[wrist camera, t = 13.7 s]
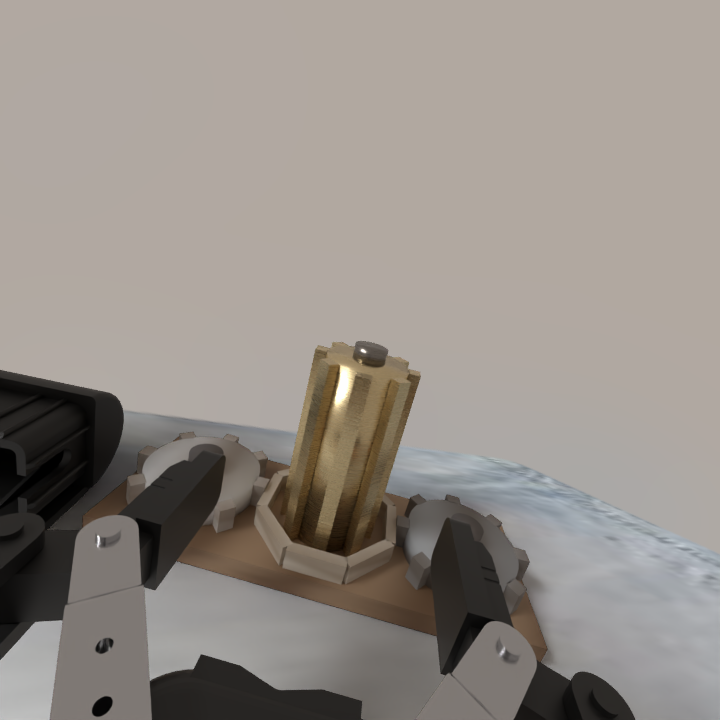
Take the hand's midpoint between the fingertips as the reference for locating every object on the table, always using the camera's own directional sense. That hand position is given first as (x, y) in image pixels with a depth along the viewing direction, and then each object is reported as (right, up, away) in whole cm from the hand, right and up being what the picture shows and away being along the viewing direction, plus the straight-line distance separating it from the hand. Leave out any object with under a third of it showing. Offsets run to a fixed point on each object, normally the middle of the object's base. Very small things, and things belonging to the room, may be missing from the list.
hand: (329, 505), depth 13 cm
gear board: (-1, -6, +11) cm, 13 cm away
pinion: (-1, -5, +10) cm, 12 cm away
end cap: (-20, -2, +9) cm, 22 cm away
